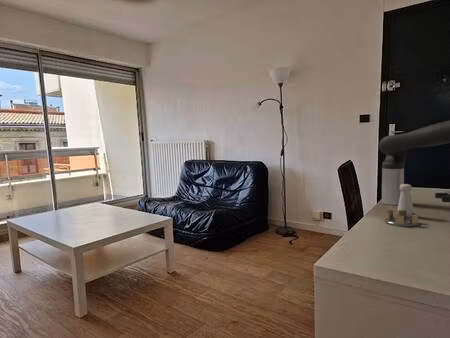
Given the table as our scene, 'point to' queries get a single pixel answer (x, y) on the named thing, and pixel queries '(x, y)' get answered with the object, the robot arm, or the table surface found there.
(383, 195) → the robot arm
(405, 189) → the salt shaker
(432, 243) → the table surface
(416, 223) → the disc with wooden blocks
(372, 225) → the table surface
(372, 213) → the table surface
